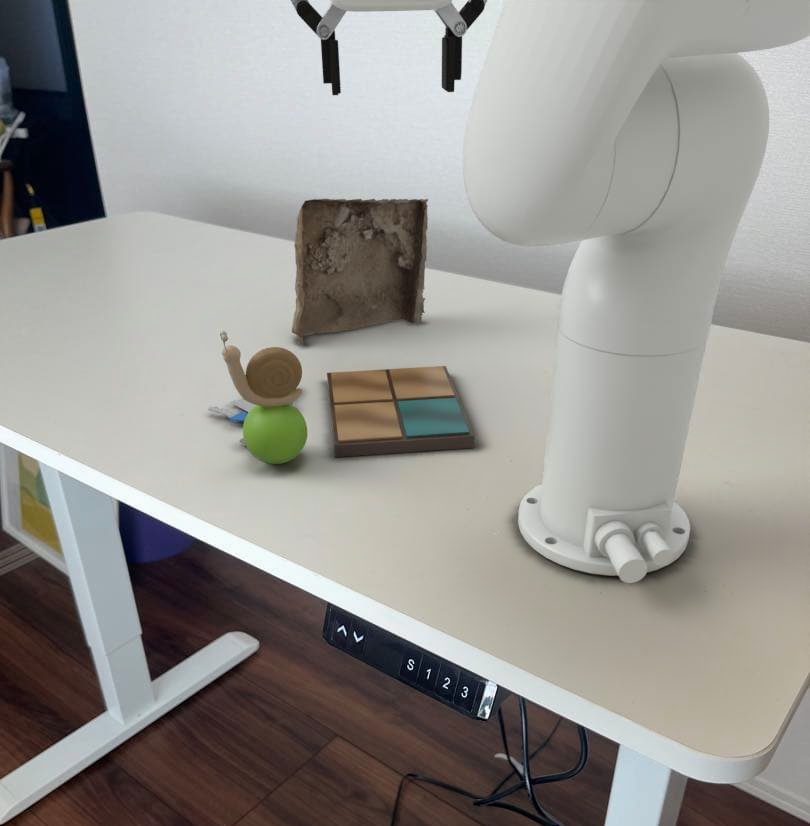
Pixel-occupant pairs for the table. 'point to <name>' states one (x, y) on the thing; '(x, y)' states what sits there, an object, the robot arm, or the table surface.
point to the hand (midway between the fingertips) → (392, 91)
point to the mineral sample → (359, 263)
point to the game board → (396, 412)
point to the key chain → (236, 415)
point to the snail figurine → (269, 402)
